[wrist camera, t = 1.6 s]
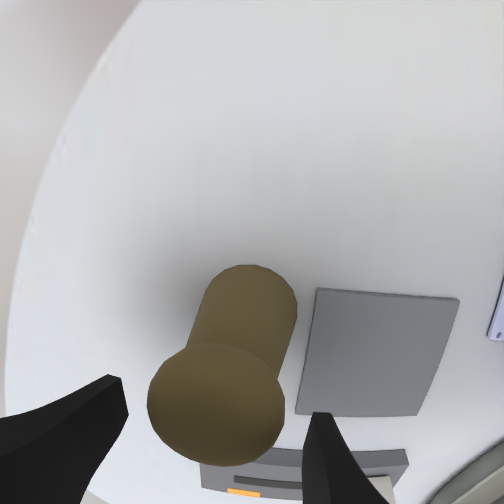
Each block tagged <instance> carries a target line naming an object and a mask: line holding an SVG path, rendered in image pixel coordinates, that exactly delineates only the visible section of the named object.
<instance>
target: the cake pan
mask: <svg viewBox="0 0 504 504" xmlns="http://www.w3.org/2000/svg"><path fill="white" fill-rule="evenodd" d="M430 504H504V441H503V442H502V443H500V444H499V445H497V446H496V447H494V448H493V449H492V450H490V451H489V452H487V453H486V454H484V455H483V456H482V457H480V458H479V459H478V460H476V461H475V462H474V463H472V464H471V465H470V466H468V467H467V468H466V469H464V470H463V471H462V472H461V473H459V474H458V475H457V476H456V477H455V478H453V479H452V480H451V481H450V482H449V483H448V484H447V485H446V486H445V487H443V488H442V489H441V490H440V491H439V492H438V494H437V495H436V496H435V497H434V498H433V500H432V501H431V502H430Z"/></svg>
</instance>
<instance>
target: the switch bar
mask: <svg viewBox="0 0 504 504" xmlns="http://www.w3.org/2000/svg"><path fill="white" fill-rule="evenodd" d="M351 453H352V455H353V457H354V458H355V460H356V462H357V463H358V465H359V466H360V468H361V469H362V471H363V472H364V473H365V475H366V476H367V478H372V477H386V476H390V479H391V484H392V489H393V487H394V486H395V485H396V483H397V482H398V480H399V479H400V477H401V476H402V475H403V473H404V472H405V470H406V469H407V467H408V466H409V462H408V459H407V455H406V452H405V449H402V450H388V451H367V452H351ZM302 456H303V450H289V449H278V448H270V449H269V450H268V451H267V452H265V453H264V454H263V455H262V456H260V457H259V458H258V459H256V460H255V461H253V462H250V463H247V464H244V465H241V466H231V467H220V466H212V465H206V464H202V463H200V474H201V486H202V488H206V489H211V490H216V491H221V492H227V493H231V494H237V495H244V496H251V497H263V498H273V499H285V500H303V495H302V472H301V470H302Z"/></svg>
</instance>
